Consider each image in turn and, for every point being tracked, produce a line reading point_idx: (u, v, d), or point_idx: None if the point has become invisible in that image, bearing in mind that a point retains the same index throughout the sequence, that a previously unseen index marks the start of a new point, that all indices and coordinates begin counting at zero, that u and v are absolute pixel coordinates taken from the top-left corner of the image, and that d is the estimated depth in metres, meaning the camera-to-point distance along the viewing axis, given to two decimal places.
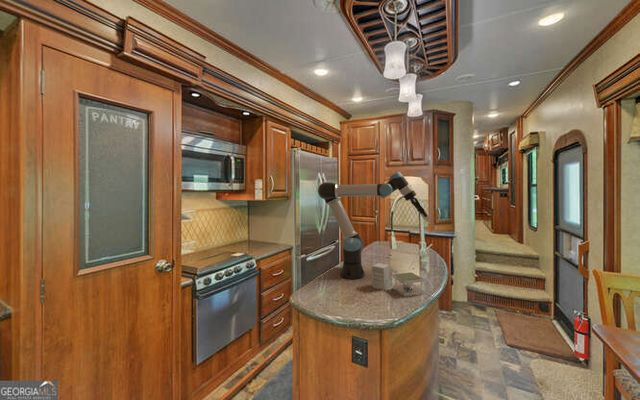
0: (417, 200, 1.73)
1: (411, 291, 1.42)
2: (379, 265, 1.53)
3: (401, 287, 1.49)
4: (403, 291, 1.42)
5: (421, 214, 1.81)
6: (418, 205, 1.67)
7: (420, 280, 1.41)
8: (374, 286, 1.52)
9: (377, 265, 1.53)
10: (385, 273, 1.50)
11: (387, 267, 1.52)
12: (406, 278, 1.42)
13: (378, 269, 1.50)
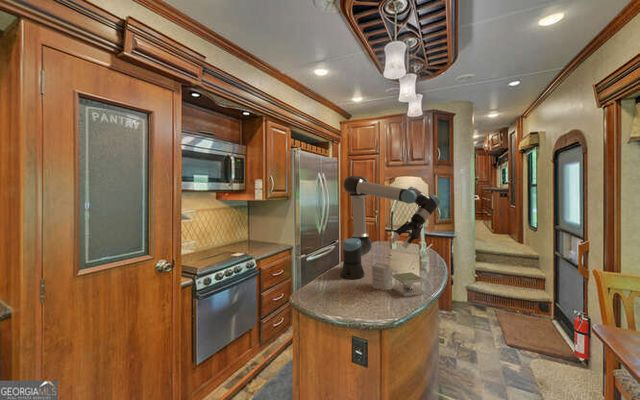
0: None
1: (411, 291, 1.42)
2: (379, 265, 1.53)
3: (401, 287, 1.49)
4: (403, 291, 1.42)
5: (395, 236, 1.62)
6: (418, 231, 1.49)
7: (420, 280, 1.41)
8: (374, 286, 1.52)
9: (377, 265, 1.53)
10: (385, 273, 1.50)
11: (387, 267, 1.52)
12: (406, 278, 1.42)
13: (378, 269, 1.50)
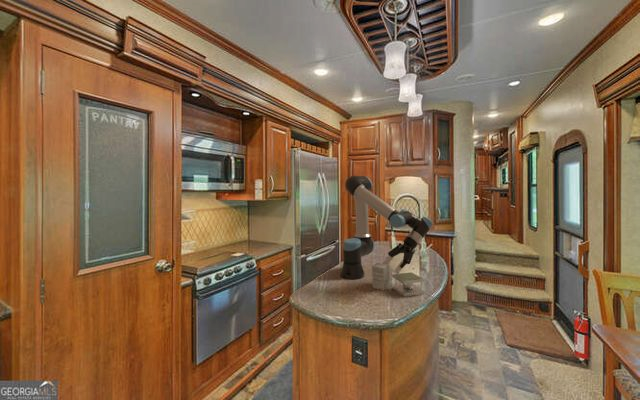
0: (408, 252, 1.54)
1: (411, 291, 1.42)
2: (379, 265, 1.53)
3: (401, 287, 1.49)
4: (403, 291, 1.42)
5: (387, 258, 1.60)
6: (410, 256, 1.47)
7: (420, 280, 1.41)
8: (374, 286, 1.52)
9: (377, 265, 1.53)
10: (385, 273, 1.50)
11: (387, 267, 1.52)
12: (406, 278, 1.42)
13: (378, 269, 1.50)
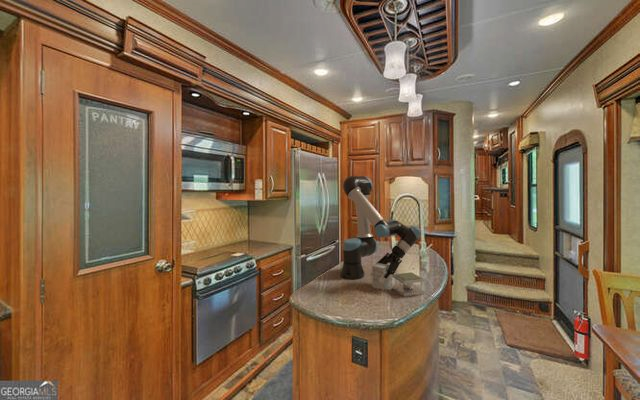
0: None
1: (411, 291, 1.42)
2: (379, 265, 1.53)
3: (401, 287, 1.49)
4: (403, 291, 1.42)
5: None
6: (395, 266, 1.47)
7: (420, 280, 1.41)
8: (374, 286, 1.52)
9: (377, 265, 1.53)
10: None
11: (387, 267, 1.52)
12: (406, 278, 1.42)
13: (378, 269, 1.50)
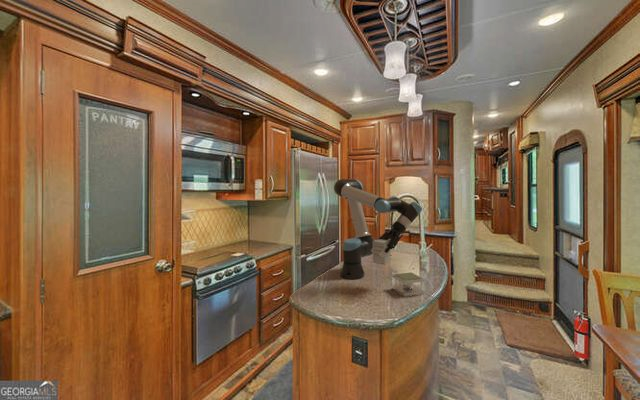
0: None
1: (411, 291, 1.42)
2: (379, 240, 1.52)
3: (401, 287, 1.49)
4: (403, 291, 1.42)
5: None
6: (396, 241, 1.46)
7: (420, 280, 1.41)
8: (375, 261, 1.51)
9: (377, 240, 1.52)
10: None
11: (388, 242, 1.51)
12: (406, 278, 1.42)
13: (378, 244, 1.49)
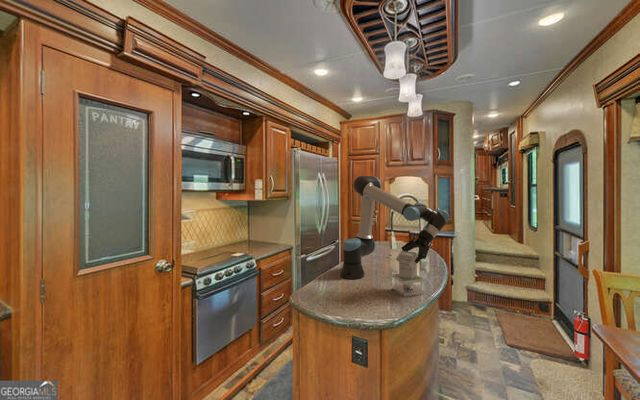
0: (424, 246, 1.46)
1: (411, 291, 1.42)
2: (406, 253, 1.46)
3: (401, 287, 1.49)
4: (403, 291, 1.42)
5: None
6: (426, 250, 1.39)
7: (420, 280, 1.41)
8: (401, 275, 1.45)
9: (404, 253, 1.45)
10: None
11: (415, 255, 1.44)
12: (406, 278, 1.42)
13: (405, 257, 1.43)
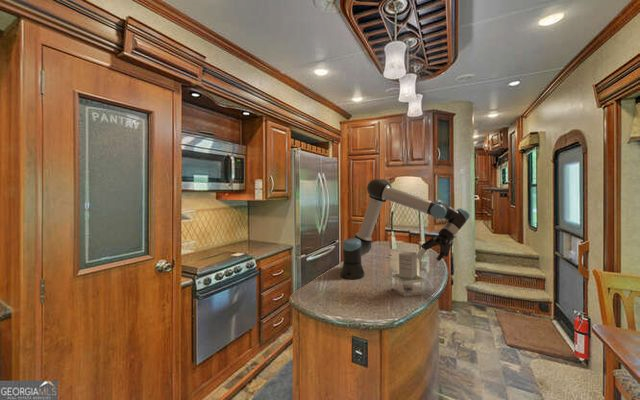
0: (444, 244, 1.49)
1: (411, 291, 1.42)
2: (406, 253, 1.46)
3: (401, 287, 1.49)
4: (403, 291, 1.42)
5: (421, 251, 1.55)
6: (448, 248, 1.42)
7: (420, 280, 1.41)
8: (401, 275, 1.45)
9: (404, 253, 1.45)
10: (413, 261, 1.43)
11: (415, 255, 1.44)
12: (406, 278, 1.42)
13: (405, 257, 1.43)
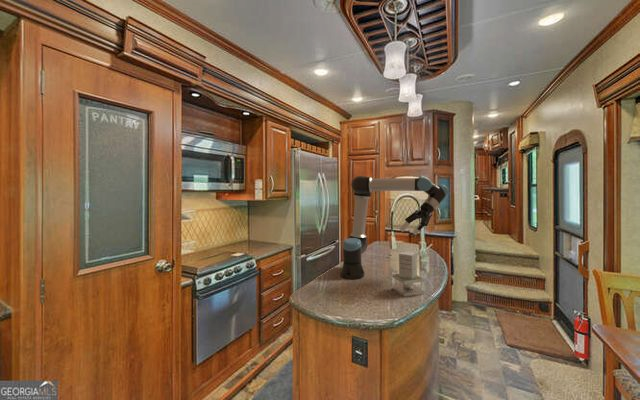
0: (425, 217, 1.62)
1: (411, 291, 1.42)
2: (406, 253, 1.46)
3: (401, 287, 1.49)
4: (403, 291, 1.42)
5: (405, 224, 1.68)
6: (428, 219, 1.55)
7: (420, 280, 1.41)
8: (401, 275, 1.45)
9: (404, 253, 1.45)
10: (413, 261, 1.43)
11: (415, 255, 1.44)
12: (406, 278, 1.42)
13: (405, 257, 1.43)
